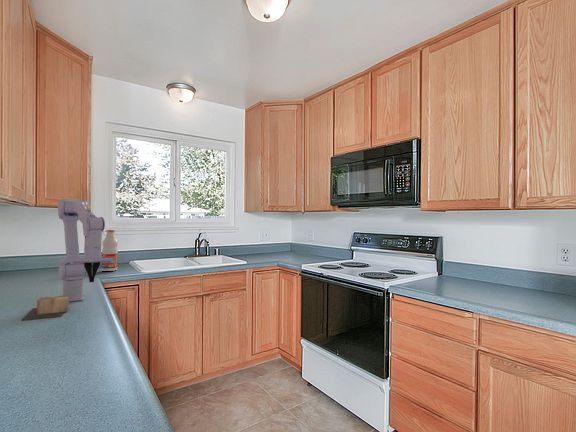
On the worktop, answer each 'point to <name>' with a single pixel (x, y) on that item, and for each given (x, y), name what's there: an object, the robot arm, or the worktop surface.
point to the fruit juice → (110, 251)
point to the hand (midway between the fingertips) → (91, 281)
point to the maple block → (52, 304)
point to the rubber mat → (40, 315)
